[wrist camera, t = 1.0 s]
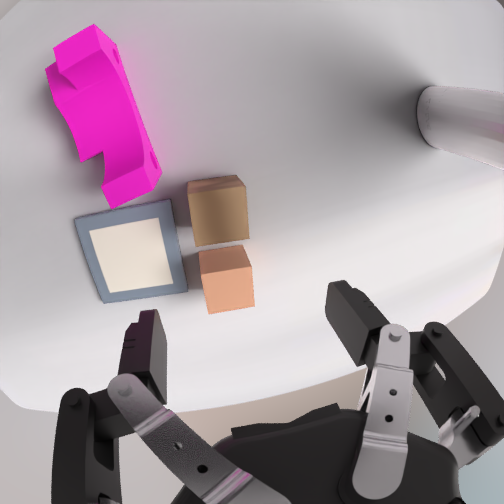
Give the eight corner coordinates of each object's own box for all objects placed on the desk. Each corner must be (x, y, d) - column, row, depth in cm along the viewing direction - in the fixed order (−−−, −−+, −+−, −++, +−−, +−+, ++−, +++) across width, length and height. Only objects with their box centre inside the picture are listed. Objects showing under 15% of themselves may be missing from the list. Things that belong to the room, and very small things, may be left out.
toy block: (64, 74, 18) (29, 65, 12) (116, 45, 19) (94, 23, 12) (109, 196, 26) (86, 221, 19) (162, 172, 26) (153, 190, 20)
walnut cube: (236, 174, 28) (245, 186, 23) (240, 219, 30) (249, 238, 26) (187, 181, 27) (187, 194, 23) (194, 226, 29) (195, 246, 25)
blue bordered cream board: (170, 198, 27) (169, 201, 26) (188, 287, 32) (188, 292, 32) (76, 217, 26) (74, 220, 25) (104, 299, 31) (103, 304, 30)
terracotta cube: (242, 244, 32) (251, 266, 27) (245, 281, 34) (254, 306, 30) (198, 251, 31) (200, 274, 26) (205, 288, 33) (208, 314, 29)
